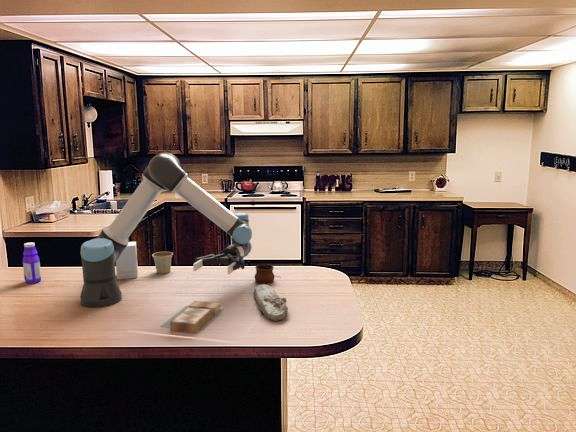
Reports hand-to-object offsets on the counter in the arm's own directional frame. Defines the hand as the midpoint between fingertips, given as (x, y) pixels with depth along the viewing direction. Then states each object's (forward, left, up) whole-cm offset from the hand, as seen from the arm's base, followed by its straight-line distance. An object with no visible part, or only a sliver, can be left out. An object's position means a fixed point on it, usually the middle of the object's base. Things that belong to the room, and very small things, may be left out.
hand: (211, 269), depth 177 cm
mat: (-2, -12, -15) cm, 19 cm away
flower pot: (-40, +37, -15) cm, 56 cm away
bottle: (-89, +11, -15) cm, 91 cm away
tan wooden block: (0, -7, -14) cm, 16 cm away
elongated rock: (+20, +7, -15) cm, 26 cm away
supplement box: (-53, +28, -15) cm, 62 cm away
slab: (0, -11, -13) cm, 17 cm away
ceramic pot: (+10, +34, -15) cm, 39 cm away
